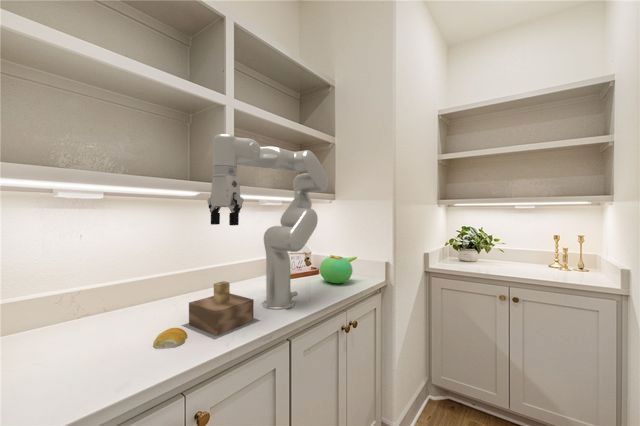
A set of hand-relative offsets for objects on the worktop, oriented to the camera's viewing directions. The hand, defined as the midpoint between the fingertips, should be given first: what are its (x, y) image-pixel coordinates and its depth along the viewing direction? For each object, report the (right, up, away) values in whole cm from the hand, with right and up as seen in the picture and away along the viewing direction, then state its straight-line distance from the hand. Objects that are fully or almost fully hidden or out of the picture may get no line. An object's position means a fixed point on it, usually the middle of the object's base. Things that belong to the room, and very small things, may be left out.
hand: (224, 224), depth 96 cm
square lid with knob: (-1, -33, +1) cm, 33 cm away
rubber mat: (-1, -33, +1) cm, 33 cm away
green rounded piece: (+40, -33, +57) cm, 78 cm away
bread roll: (-11, -34, -13) cm, 38 cm away
